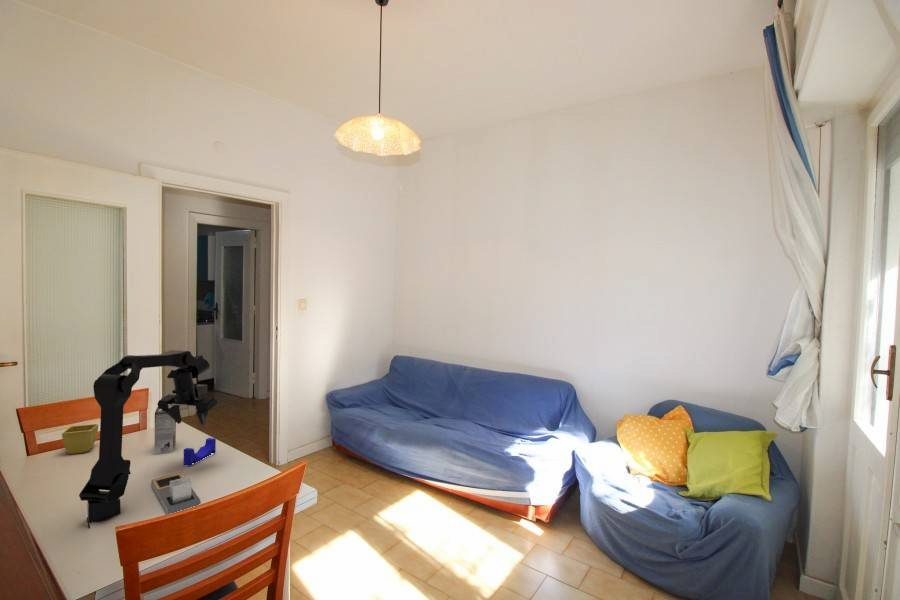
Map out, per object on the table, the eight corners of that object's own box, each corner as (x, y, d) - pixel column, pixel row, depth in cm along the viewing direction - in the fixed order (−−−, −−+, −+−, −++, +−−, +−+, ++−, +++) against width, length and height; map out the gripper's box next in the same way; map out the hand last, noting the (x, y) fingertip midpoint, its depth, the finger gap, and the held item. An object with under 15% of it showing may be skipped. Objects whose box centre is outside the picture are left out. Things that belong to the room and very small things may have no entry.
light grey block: (173, 510, 120) (173, 486, 120) (169, 504, 123) (169, 481, 123) (191, 505, 123) (191, 481, 123) (187, 499, 126) (187, 476, 126)
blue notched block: (205, 452, 164) (205, 437, 163) (215, 453, 163) (215, 438, 163) (180, 465, 152) (180, 449, 152) (190, 466, 151) (190, 450, 151)
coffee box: (157, 446, 168) (157, 406, 167) (176, 444, 171) (176, 404, 170) (153, 454, 160) (153, 412, 159) (173, 452, 163) (174, 411, 162)
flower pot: (70, 448, 163) (70, 425, 163) (99, 445, 167) (99, 423, 167) (61, 457, 155) (61, 433, 155) (91, 453, 159) (91, 430, 159)
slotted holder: (168, 520, 117) (168, 509, 117) (151, 488, 134) (151, 479, 134) (200, 510, 123) (200, 499, 122) (180, 481, 140) (180, 472, 140)
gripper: (223, 375, 153) (229, 413, 157) (176, 372, 154) (183, 410, 159) (203, 390, 142) (210, 430, 146) (152, 387, 144) (161, 427, 148)
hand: (191, 424), depth 150 cm, fingers open, 9 cm apart
